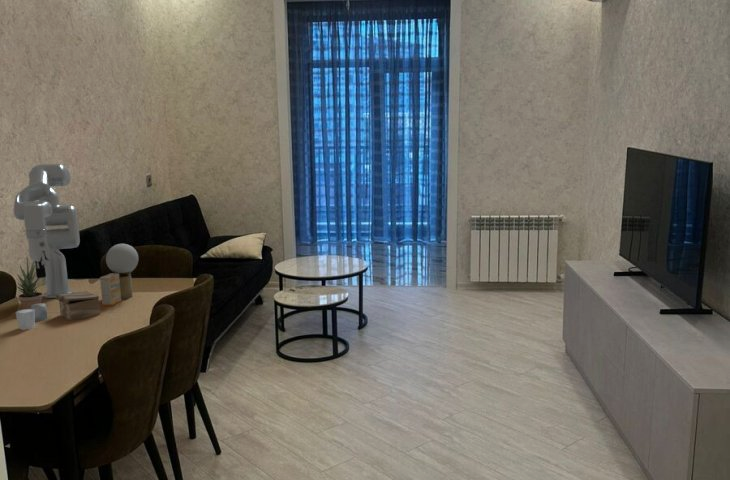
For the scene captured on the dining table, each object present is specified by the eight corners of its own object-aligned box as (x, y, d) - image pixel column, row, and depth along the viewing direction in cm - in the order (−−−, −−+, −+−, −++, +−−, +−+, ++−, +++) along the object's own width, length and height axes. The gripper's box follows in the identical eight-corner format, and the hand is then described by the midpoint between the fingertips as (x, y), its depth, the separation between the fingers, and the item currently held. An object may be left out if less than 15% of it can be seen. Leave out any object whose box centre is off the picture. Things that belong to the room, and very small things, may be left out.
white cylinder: (40, 325, 272) (38, 309, 271) (27, 331, 266) (24, 313, 264) (27, 324, 274) (25, 308, 273) (13, 329, 268) (11, 312, 267)
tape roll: (30, 319, 282) (29, 305, 281) (44, 316, 286) (43, 302, 285) (35, 321, 278) (33, 307, 277) (49, 318, 282) (47, 304, 281)
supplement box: (111, 306, 299) (109, 277, 296) (102, 305, 299) (99, 277, 297) (122, 301, 306) (119, 273, 304) (112, 300, 307) (109, 272, 305)
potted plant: (47, 310, 295) (41, 255, 290) (25, 315, 288) (18, 258, 283) (38, 306, 301) (32, 252, 297) (16, 311, 295) (9, 255, 290)
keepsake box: (60, 315, 287) (58, 299, 285) (88, 309, 295) (87, 293, 294) (71, 320, 278) (69, 304, 277) (100, 314, 286) (98, 298, 285)
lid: (56, 299, 285) (56, 294, 285) (86, 296, 294) (87, 291, 294) (67, 304, 276) (67, 299, 276) (98, 301, 285) (98, 296, 285)
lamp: (141, 291, 323) (137, 240, 318) (141, 298, 310) (137, 245, 305) (107, 294, 318) (102, 242, 314) (106, 302, 305) (101, 248, 301)
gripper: (52, 234, 273) (57, 278, 276) (38, 230, 283) (43, 273, 287) (33, 236, 268) (38, 281, 271) (20, 233, 278) (25, 276, 281)
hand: (41, 277), depth 279 cm, fingers closed
